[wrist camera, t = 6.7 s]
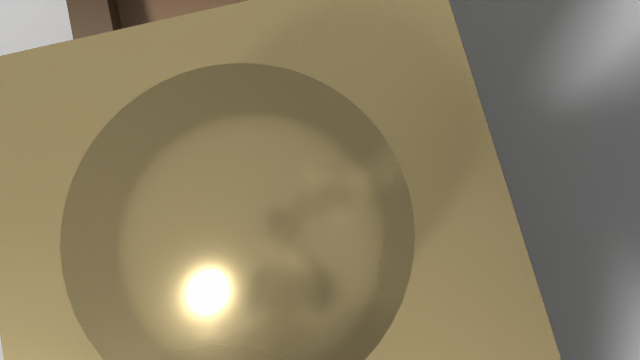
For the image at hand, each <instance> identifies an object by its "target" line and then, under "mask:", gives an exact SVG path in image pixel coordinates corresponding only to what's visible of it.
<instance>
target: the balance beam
mask: <svg viewBox="0 0 640 360" xmlns="http://www.w3.org/2000/svg"><path fill="white" fill-rule="evenodd" d="M244 1H248V0H66V2H67V7H68V12H69V18H70V23H71V29H72V34H73V40H74V39H79V38H83V37H88V36H92V35H96V34H101V33H105V32H110V31H114V30H119V29H123V28H128V27H132V26H137V25H141V24H145V23H150V22H154V21H159V20H163V19H168V18H172V17H177V16H181V15H186V14H190V13H195V12H199V11H203V10H208V9H212V8H217V7H221V6H226V5H230V4H235V3H239V2H244Z"/></svg>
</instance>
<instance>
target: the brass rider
mask: <svg viewBox="0 0 640 360" xmlns="http://www.w3.org/2000/svg"><path fill="white" fill-rule="evenodd" d="M0 335H1V342H2V349H3V356H4V360H561V357H560V354H559V351H558V348H557V344H556V341H555V338H554V335H553V332H552V328H551V325H550V322H549V319H548V316H547V312H546V309H545V306H544V303H543V300H542V296H541V293H540V290H539V287H538V284H537V280H536V277H535V274H534V271H533V268H532V264H531V261H530V258H529V255H528V252H527V248H526V245H525V242H524V239H523V236H522V232H521V229H520V226H519V223H518V220H517V217H516V213H515V210H514V207H513V204H512V201H511V197H510V194H509V191H508V188H507V185H506V181H505V178H504V175H503V172H502V169H501V165H500V162H499V159H498V156H497V153H496V149H495V146H494V143H493V140H492V137H491V133H490V130H489V127H488V124H487V121H486V117H485V114H484V111H483V108H482V105H481V101H480V98H479V95H478V92H477V89H476V85H475V82H474V79H473V76H472V73H471V70H470V66H469V63H468V60H467V57H466V54H465V50H464V47H463V44H462V41H461V38H460V34H459V31H458V28H457V25H456V22H455V18H454V15H453V12H452V9H451V6H450V2H449V0H248V1H244V2H239V3H235V4H230V5H226V6H221V7H217V8H212V9H208V10H203V11H199V12H195V13H190V14H186V15H181V16H177V17H172V18H168V19H163V20H159V21H154V22H150V23H145V24H141V25H137V26H132V27H128V28H123V29H119V30H114V31H110V32H105V33H101V34H96V35H92V36H88V37H83V38H79V39H74V40H70V41H65V42H61V43H56V44H52V45H47V46H43V47H39V48H34V49H30V50H25V51H21V52H16V53H12V54H7V55H3V56H0Z"/></svg>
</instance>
